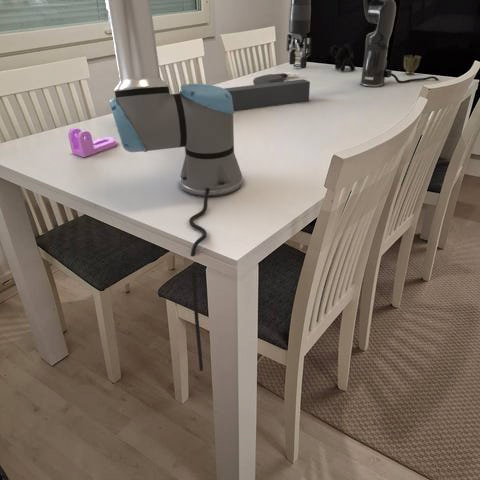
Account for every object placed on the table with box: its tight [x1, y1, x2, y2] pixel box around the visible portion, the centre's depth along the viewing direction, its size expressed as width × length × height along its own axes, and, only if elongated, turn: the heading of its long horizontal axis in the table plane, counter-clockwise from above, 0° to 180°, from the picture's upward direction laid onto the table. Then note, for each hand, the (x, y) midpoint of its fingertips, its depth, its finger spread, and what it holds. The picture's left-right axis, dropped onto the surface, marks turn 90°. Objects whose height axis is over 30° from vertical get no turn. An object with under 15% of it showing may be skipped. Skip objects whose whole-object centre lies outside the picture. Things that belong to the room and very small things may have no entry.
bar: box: [223, 78, 311, 112], centre depth 162 cm, size 72×5×7 cm, turn 112°
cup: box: [403, 54, 422, 76], centre depth 208 cm, size 8×7×8 cm
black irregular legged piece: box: [330, 43, 356, 72], centre depth 219 cm, size 11×10×15 cm
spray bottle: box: [252, 71, 300, 85], centre depth 201 cm, size 3×11×24 cm
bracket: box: [67, 127, 117, 158], centre depth 130 cm, size 13×6×7 cm, turn 143°
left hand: (130, 82), depth 148 cm, fingers open, 13 cm apart
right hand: (297, 66), depth 167 cm, fingers open, 8 cm apart
